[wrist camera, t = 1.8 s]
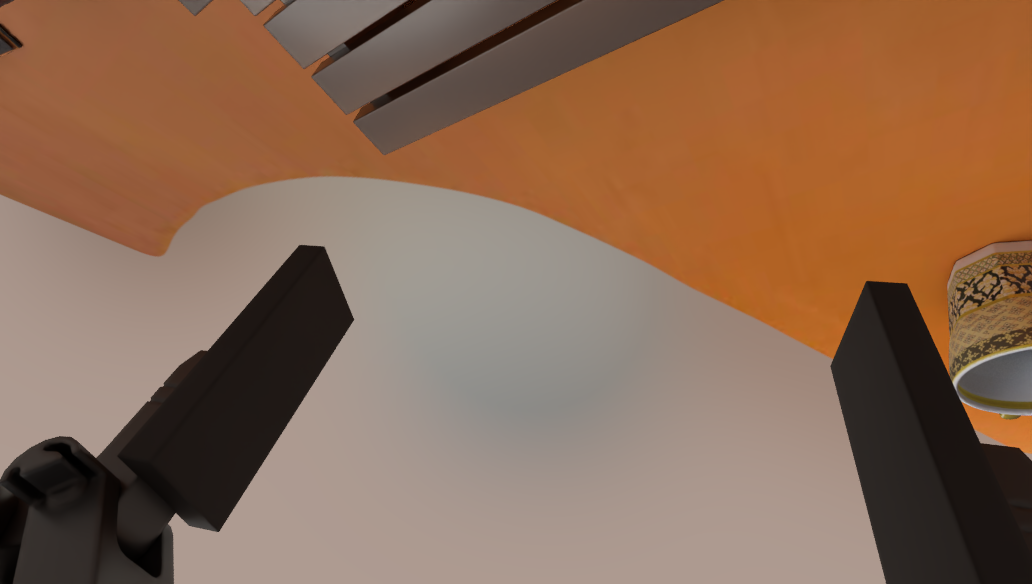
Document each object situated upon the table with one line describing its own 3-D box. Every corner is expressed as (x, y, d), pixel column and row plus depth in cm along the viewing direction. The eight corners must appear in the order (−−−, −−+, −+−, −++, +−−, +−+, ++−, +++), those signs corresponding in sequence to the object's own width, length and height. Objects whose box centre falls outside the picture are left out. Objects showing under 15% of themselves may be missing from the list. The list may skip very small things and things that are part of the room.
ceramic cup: (935, 230, 41) (971, 344, 35) (1116, 217, 37) (1191, 342, 31) (906, 327, 50) (930, 429, 44) (1048, 324, 46) (1095, 437, 40)
